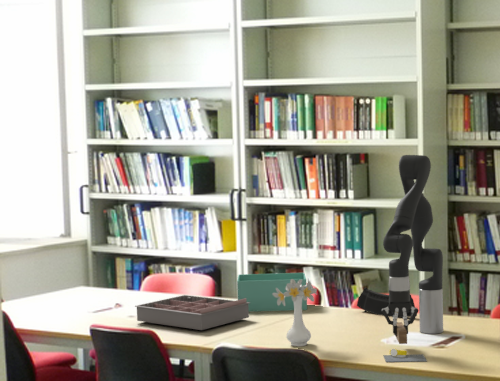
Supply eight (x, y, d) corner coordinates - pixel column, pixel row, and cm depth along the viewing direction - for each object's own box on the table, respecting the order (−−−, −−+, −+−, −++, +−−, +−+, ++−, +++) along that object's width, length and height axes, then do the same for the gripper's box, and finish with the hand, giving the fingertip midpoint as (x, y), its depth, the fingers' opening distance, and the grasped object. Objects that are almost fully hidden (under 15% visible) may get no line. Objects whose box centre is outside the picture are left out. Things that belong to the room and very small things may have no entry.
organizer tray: (185, 311, 407) (184, 290, 406) (251, 320, 381) (250, 298, 381) (134, 323, 382) (133, 301, 381) (202, 334, 356) (201, 310, 356)
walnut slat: (394, 334, 323) (394, 322, 323) (402, 334, 323) (401, 322, 323) (399, 343, 309) (398, 331, 309) (407, 343, 309) (406, 331, 309)
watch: (394, 355, 313) (385, 355, 308) (394, 347, 313) (386, 347, 308) (409, 357, 309) (400, 357, 304) (409, 349, 309) (400, 349, 305)
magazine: (421, 298, 371) (367, 272, 391) (417, 299, 369) (363, 273, 389) (412, 334, 376) (359, 307, 396) (408, 336, 373) (355, 308, 393)
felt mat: (383, 356, 309) (383, 355, 309) (423, 355, 309) (423, 354, 309) (386, 362, 300) (386, 361, 300) (426, 361, 300) (426, 360, 300)
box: (307, 310, 401) (306, 279, 400) (238, 312, 402) (237, 281, 401) (305, 302, 422) (304, 272, 421) (239, 304, 422) (238, 274, 422)
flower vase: (269, 347, 328) (267, 281, 327) (301, 338, 341) (299, 275, 340) (296, 352, 319) (293, 284, 318) (327, 342, 332) (325, 278, 331)
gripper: (417, 286, 318) (418, 332, 320) (378, 287, 319) (380, 333, 320) (420, 289, 311) (421, 337, 312) (380, 290, 312) (382, 338, 313)
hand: (400, 335), depth 316 cm, fingers closed on walnut slat, 2 cm apart
